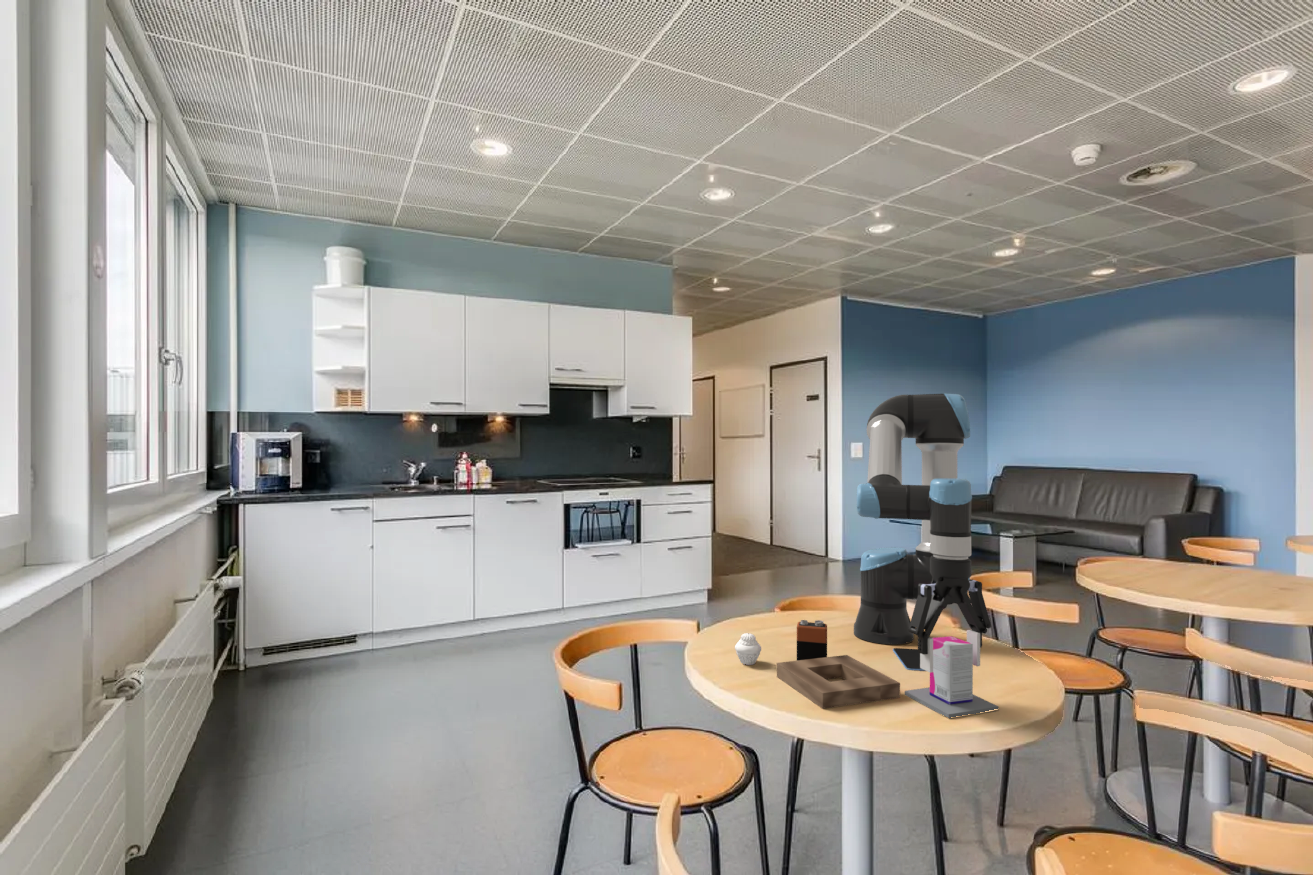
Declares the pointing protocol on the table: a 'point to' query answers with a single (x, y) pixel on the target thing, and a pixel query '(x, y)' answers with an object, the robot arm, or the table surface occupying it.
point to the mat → (950, 710)
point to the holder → (853, 690)
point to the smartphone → (908, 658)
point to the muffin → (748, 649)
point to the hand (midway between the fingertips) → (950, 667)
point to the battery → (811, 640)
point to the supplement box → (952, 670)
